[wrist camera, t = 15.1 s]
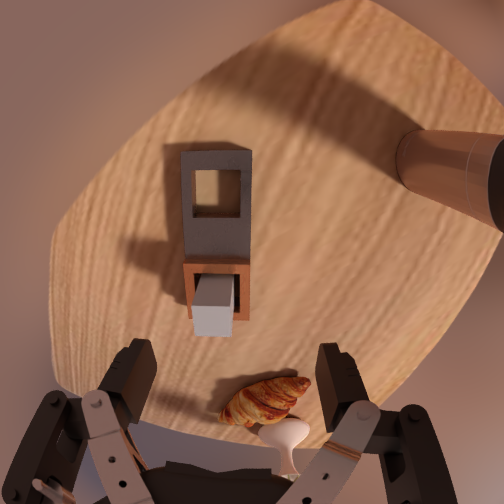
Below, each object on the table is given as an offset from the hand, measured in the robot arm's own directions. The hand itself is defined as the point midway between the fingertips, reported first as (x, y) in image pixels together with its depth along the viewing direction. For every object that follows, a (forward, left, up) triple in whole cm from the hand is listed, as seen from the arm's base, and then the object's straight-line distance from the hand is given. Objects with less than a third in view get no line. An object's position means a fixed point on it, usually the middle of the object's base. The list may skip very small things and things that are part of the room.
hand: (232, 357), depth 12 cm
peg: (-2, +9, -24) cm, 26 cm away
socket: (+1, +4, -24) cm, 24 cm away
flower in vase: (-31, +35, -24) cm, 52 cm away
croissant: (-19, +28, -25) cm, 42 cm away
